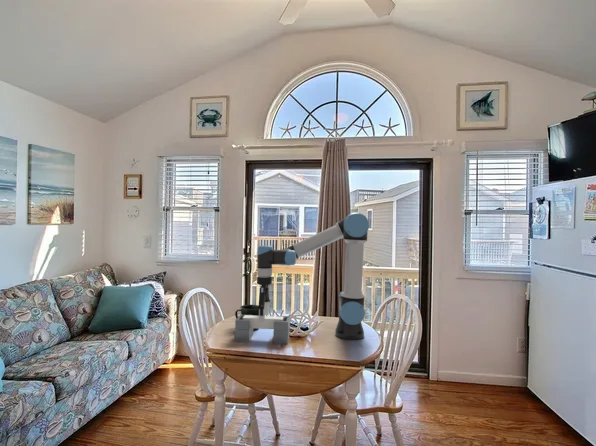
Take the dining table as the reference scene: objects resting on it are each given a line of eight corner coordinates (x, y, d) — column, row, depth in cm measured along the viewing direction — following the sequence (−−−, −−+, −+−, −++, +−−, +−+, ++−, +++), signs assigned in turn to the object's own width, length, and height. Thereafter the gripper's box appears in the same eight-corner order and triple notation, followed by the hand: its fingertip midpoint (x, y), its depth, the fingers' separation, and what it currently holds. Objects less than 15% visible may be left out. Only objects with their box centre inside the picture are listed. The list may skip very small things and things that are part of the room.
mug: (255, 332, 187) (256, 310, 187) (230, 329, 191) (231, 307, 191) (263, 326, 197) (263, 305, 197) (239, 324, 201) (239, 303, 201)
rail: (283, 326, 178) (283, 316, 178) (282, 329, 173) (282, 319, 173) (244, 324, 179) (244, 315, 179) (242, 327, 174) (242, 317, 174)
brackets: (289, 336, 181) (289, 316, 181) (287, 343, 170) (288, 322, 170) (239, 334, 183) (240, 314, 183) (234, 341, 172) (235, 320, 172)
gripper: (261, 272, 189) (260, 311, 189) (252, 280, 164) (251, 325, 164) (274, 272, 189) (274, 312, 189) (268, 280, 164) (267, 325, 164)
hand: (263, 318), depth 176 cm, fingers open, 13 cm apart
